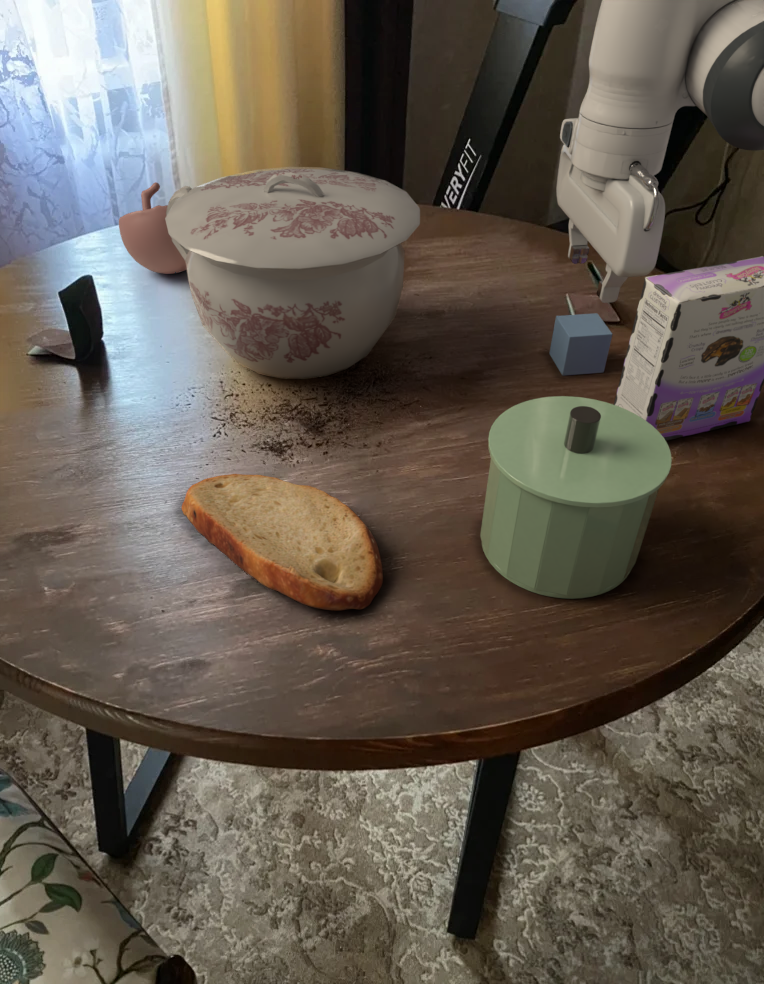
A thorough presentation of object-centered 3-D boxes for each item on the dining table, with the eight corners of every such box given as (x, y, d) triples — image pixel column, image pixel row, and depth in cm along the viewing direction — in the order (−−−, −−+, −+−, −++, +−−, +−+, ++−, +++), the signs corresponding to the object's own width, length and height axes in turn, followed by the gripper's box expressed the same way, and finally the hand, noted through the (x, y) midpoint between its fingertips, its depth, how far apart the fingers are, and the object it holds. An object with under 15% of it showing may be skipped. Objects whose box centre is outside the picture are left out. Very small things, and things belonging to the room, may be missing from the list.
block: (589, 351, 101) (597, 312, 97) (603, 372, 97) (612, 333, 94) (549, 353, 100) (555, 315, 97) (562, 375, 97) (569, 336, 93)
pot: (602, 490, 81) (626, 398, 74) (658, 590, 71) (692, 495, 64) (465, 502, 80) (476, 410, 73) (503, 606, 70) (520, 511, 63)
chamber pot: (451, 384, 95) (468, 201, 81) (215, 433, 88) (189, 241, 74) (364, 281, 115) (366, 119, 101) (165, 314, 108) (137, 145, 94)
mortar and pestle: (200, 246, 124) (190, 165, 116) (225, 279, 115) (216, 195, 108) (119, 260, 120) (103, 178, 112) (139, 295, 112) (123, 209, 104)
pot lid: (628, 400, 75) (638, 360, 72) (699, 505, 64) (714, 462, 62) (468, 413, 74) (473, 372, 71) (514, 521, 63) (521, 479, 60)
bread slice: (184, 488, 82) (178, 457, 79) (368, 479, 83) (368, 449, 80) (168, 627, 68) (161, 595, 66) (387, 614, 69) (388, 583, 67)
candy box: (716, 395, 94) (764, 253, 82) (750, 424, 89) (806, 278, 78) (607, 418, 90) (643, 272, 79) (638, 448, 86) (680, 300, 75)
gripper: (695, 183, 75) (656, 323, 84) (613, 115, 90) (587, 240, 99) (628, 186, 74) (596, 327, 84) (556, 116, 89) (536, 243, 99)
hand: (590, 279), depth 92 cm, fingers open, 8 cm apart
